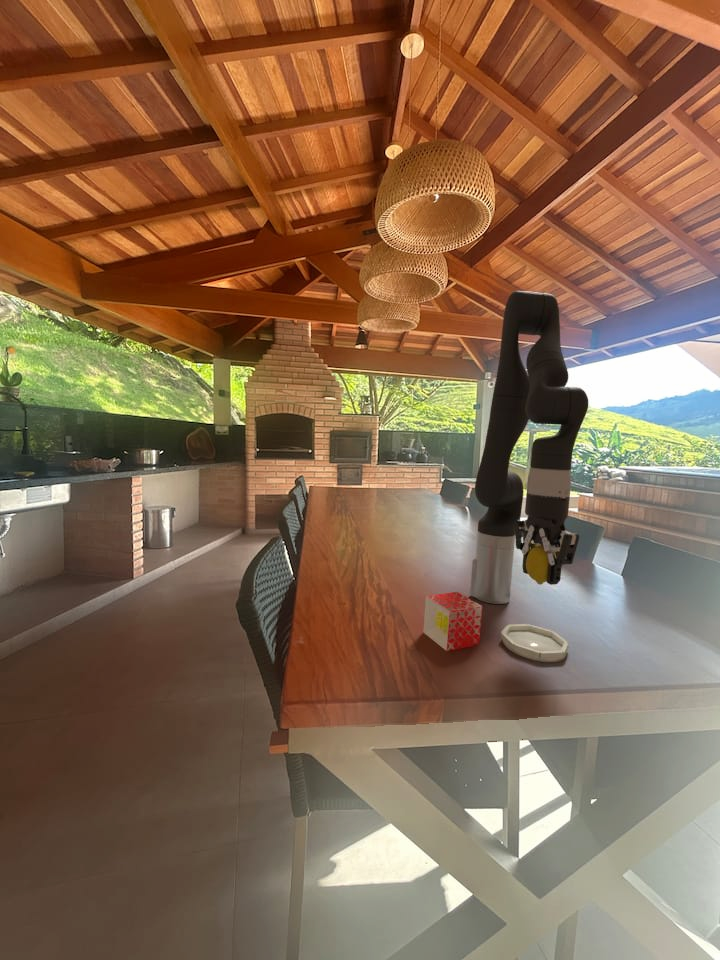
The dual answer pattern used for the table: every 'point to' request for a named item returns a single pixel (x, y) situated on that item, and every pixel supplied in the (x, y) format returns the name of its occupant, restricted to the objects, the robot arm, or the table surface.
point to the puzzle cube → (452, 620)
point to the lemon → (537, 564)
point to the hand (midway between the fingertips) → (540, 578)
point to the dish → (534, 642)
